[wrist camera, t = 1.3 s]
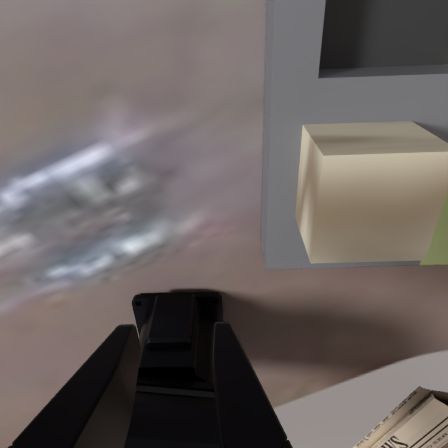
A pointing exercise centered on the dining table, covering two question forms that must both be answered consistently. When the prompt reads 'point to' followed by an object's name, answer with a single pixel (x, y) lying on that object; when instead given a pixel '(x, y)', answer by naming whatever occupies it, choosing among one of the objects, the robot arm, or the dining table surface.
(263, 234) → the trap deck
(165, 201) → the dining table surface
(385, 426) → the newspaper
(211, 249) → the dining table surface
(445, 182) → the maple block
